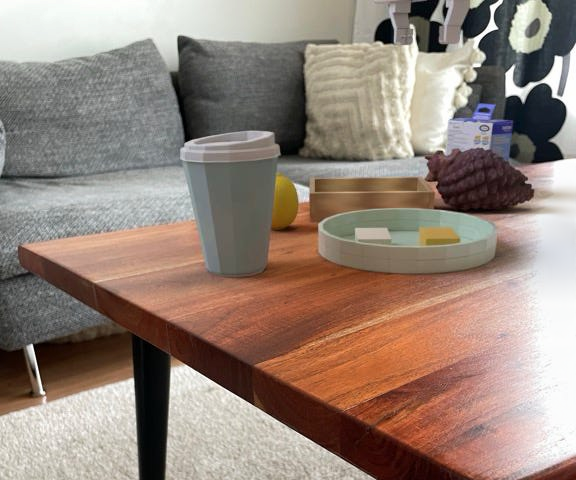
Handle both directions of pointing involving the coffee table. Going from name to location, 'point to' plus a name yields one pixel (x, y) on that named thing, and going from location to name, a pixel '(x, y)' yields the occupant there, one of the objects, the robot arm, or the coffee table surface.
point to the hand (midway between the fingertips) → (424, 44)
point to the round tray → (407, 241)
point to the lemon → (284, 203)
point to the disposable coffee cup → (233, 198)
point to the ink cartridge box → (480, 133)
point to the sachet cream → (373, 236)
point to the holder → (366, 195)
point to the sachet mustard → (437, 236)
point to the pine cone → (477, 180)
